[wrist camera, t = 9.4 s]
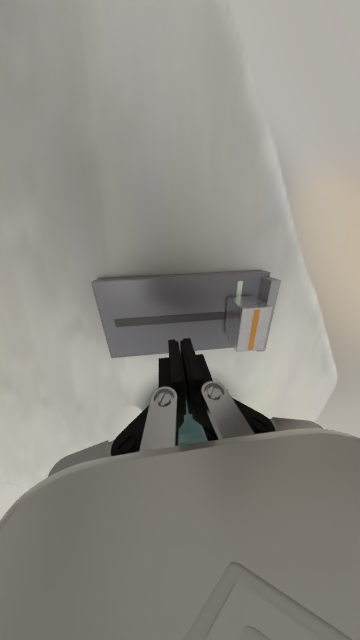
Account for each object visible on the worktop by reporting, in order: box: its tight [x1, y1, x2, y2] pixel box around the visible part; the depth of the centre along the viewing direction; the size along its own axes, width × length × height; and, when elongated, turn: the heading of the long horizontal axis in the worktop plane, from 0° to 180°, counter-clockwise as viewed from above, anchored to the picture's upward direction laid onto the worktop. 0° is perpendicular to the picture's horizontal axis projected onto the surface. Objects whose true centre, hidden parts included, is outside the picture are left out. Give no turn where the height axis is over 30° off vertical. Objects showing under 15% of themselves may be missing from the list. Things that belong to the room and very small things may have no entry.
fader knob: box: [224, 295, 272, 352], centre depth 18 cm, size 5×3×4 cm, turn 2°
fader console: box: [91, 270, 281, 358], centre depth 20 cm, size 10×20×4 cm, turn 92°
